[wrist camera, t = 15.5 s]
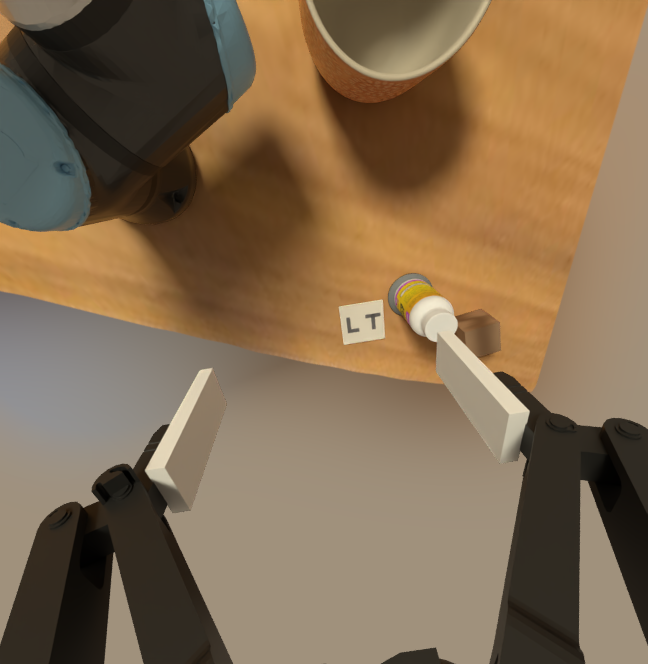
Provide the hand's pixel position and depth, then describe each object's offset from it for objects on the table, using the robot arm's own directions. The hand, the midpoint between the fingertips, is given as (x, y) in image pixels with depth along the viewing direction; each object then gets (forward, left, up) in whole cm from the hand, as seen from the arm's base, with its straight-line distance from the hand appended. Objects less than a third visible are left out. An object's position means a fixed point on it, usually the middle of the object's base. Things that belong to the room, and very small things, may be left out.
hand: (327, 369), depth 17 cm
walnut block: (+27, -20, -35) cm, 48 cm away
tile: (+7, -15, -35) cm, 38 cm away
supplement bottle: (+16, -11, -34) cm, 40 cm away
